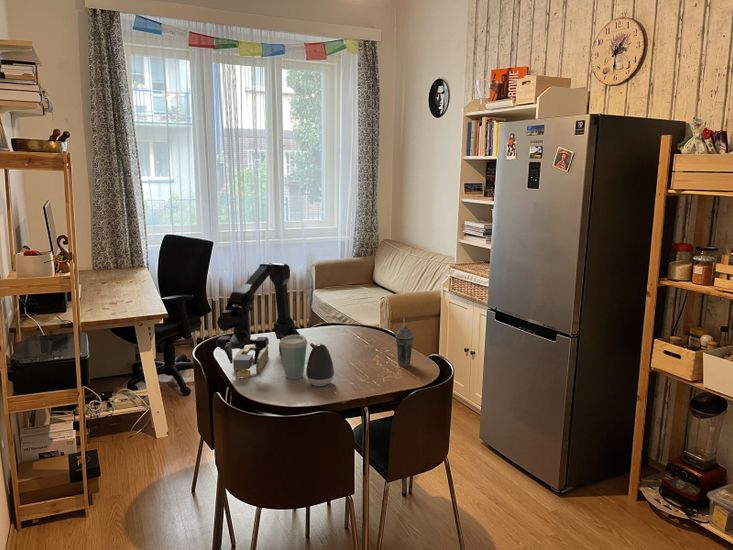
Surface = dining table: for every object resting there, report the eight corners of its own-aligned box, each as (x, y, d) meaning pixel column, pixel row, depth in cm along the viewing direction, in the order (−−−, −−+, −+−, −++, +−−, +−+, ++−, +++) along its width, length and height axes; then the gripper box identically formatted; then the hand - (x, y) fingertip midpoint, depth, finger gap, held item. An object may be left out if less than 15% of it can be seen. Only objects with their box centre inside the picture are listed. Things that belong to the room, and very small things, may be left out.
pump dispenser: (322, 376, 219) (321, 338, 216) (339, 384, 211) (339, 344, 208) (300, 383, 212) (299, 343, 209) (318, 391, 204) (317, 350, 202)
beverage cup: (415, 363, 233) (416, 315, 229) (409, 369, 227) (410, 320, 223) (399, 360, 236) (399, 313, 232) (392, 366, 230) (392, 317, 226)
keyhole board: (268, 358, 238) (268, 345, 237) (259, 372, 223) (258, 358, 222) (244, 357, 239) (244, 345, 238) (233, 371, 223) (233, 358, 222)
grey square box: (253, 373, 222) (252, 354, 220) (249, 378, 216) (248, 360, 215) (238, 372, 222) (237, 354, 221) (233, 378, 216) (233, 359, 215)
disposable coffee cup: (300, 382, 212) (299, 343, 209) (274, 378, 216) (273, 340, 213) (312, 373, 222) (312, 335, 219) (287, 369, 226) (287, 332, 223)
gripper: (210, 329, 208) (212, 370, 211) (261, 330, 207) (262, 371, 210) (219, 321, 219) (221, 360, 222) (268, 322, 218) (269, 361, 221)
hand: (243, 363), depth 218 cm, fingers open, 9 cm apart
